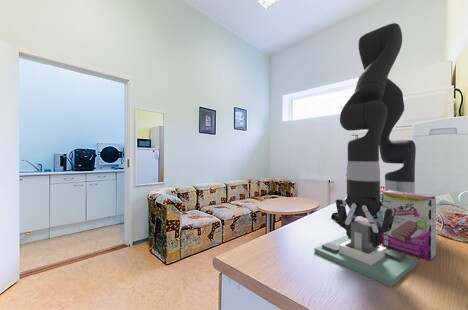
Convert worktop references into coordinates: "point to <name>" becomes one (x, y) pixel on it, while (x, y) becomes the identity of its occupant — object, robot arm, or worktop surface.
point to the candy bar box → (411, 223)
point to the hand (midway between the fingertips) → (362, 241)
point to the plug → (362, 236)
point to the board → (369, 260)
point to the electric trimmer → (335, 216)
